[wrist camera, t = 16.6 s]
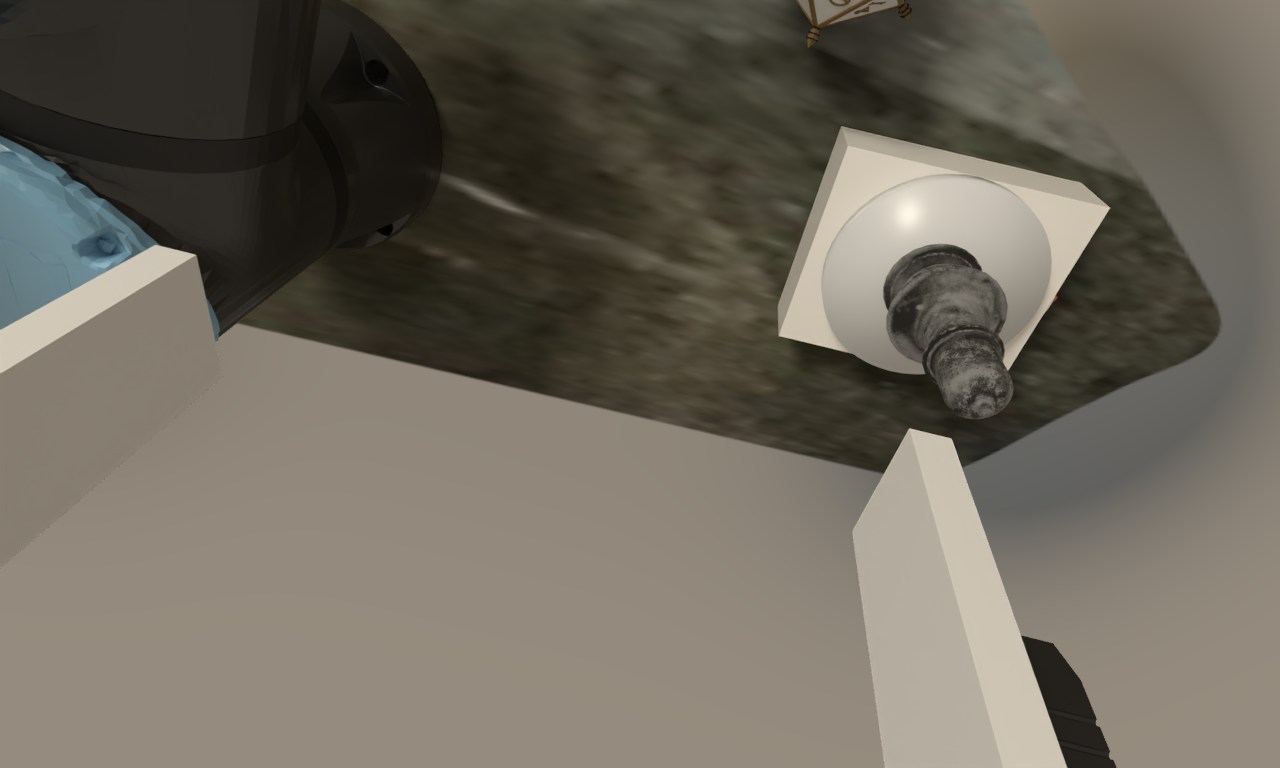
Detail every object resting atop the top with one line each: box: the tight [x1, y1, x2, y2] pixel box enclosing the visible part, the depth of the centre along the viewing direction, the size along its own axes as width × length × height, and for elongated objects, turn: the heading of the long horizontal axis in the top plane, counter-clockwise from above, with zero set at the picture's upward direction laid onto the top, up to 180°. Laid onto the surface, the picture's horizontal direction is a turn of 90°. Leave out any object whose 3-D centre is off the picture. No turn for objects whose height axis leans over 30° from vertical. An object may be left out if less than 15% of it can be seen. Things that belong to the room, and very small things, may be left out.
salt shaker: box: [883, 244, 1013, 419], centre depth 33 cm, size 6×6×12 cm
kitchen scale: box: [778, 126, 1110, 374], centre depth 40 cm, size 14×12×5 cm
